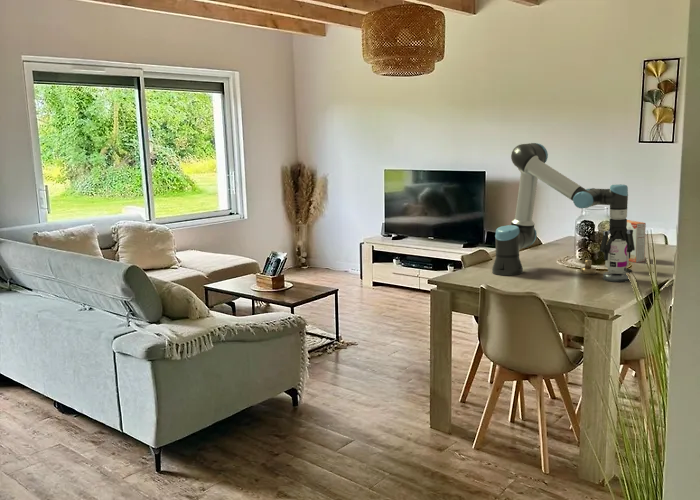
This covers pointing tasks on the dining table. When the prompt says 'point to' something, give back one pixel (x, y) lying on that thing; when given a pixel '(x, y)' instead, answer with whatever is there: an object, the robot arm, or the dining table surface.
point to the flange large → (615, 277)
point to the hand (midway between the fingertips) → (616, 266)
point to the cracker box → (637, 240)
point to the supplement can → (618, 256)
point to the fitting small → (588, 268)
